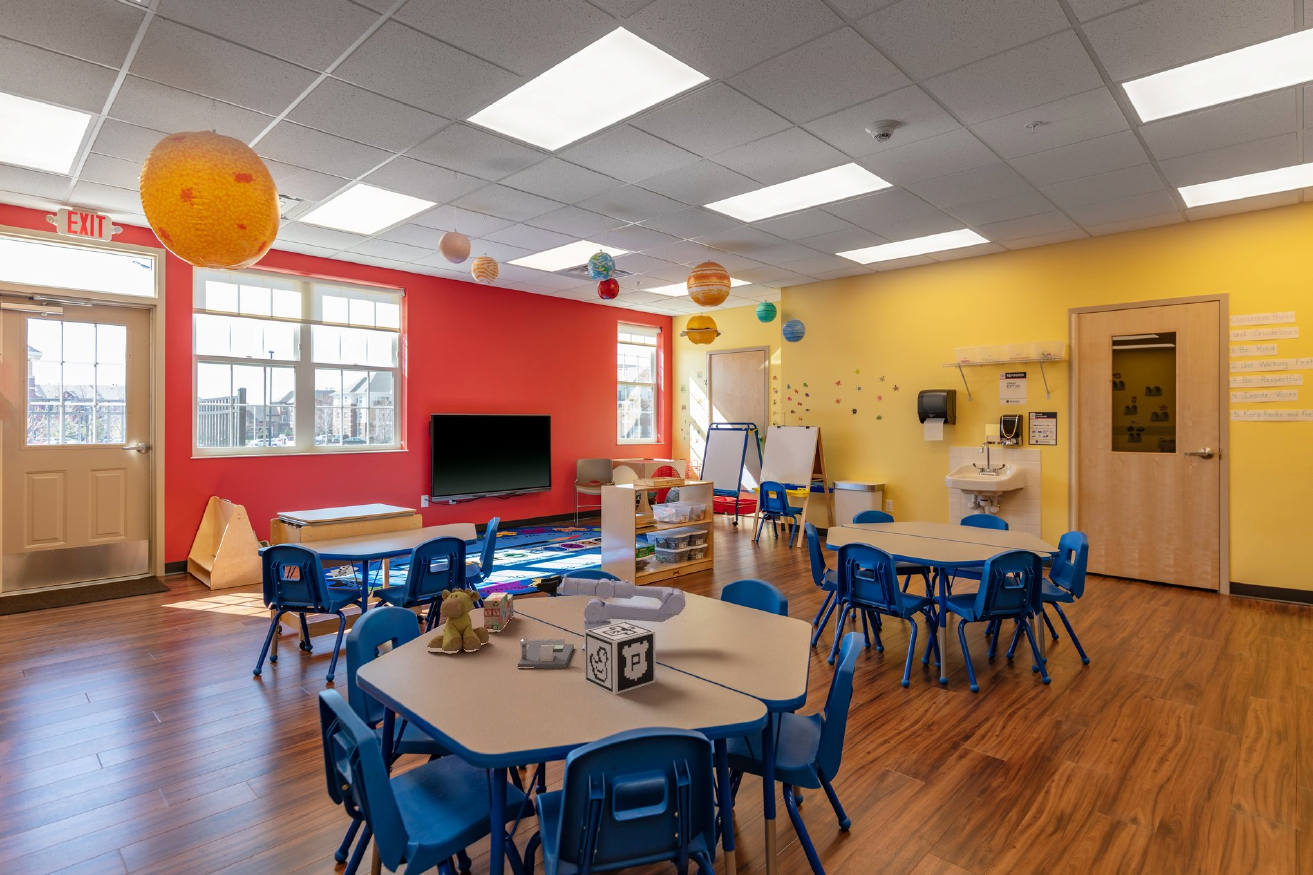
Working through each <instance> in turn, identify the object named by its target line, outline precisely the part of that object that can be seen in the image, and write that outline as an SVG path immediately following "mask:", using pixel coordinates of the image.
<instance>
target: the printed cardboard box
mask: <svg viewBox="0 0 1313 875" xmlns="http://www.w3.org/2000/svg"><path fill="white" fill-rule="evenodd" d="M512 616H514V594H509V593H508V592H491V593H490V594H489V595H488V596H487V597H486V598H485V599H484V600H483V621H484V622H483V627H484V628H485V629H493V630H501V629H502V628H503V627H504V625H506V623H507V622H508V620H510V619H511V618H512ZM512 619H513V618H512ZM512 619H511V620H512ZM506 626H507V625H506Z"/></svg>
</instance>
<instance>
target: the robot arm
mask: <svg viewBox="0 0 1313 875" xmlns="http://www.w3.org/2000/svg"><path fill="white" fill-rule="evenodd" d="M562 575H563V574H558V575H556V576H552V577H545V578H541V579H540V582H539V583H537V584H536V590H537V591H539V592H543V593H546V594H548V595H551V596H552V597H554V598H556V597H557V594H561V596H565V595H566V596H582V597H583V596H584V597H595V598H591V599H590V600H589V601H588V602H587V604H586V607H585V609H584V610H583V616H584V619H583V629H584V631H583V636H584V637H583V645H582V647H581V650H585V630H588V629H593V628H597V627H601V626H606V625H610V624H612V621H611V620H624V621H626V620H627V621H636V622H637V621H638V622H640V621H641V622H654V623H655V622H656V623H664V622H665V621H667V620H669V619H671V618H673V617H675V616H679V615H680V614H681V613H682V611H683V610H684V609H685V608H686V603H687V602H686V599H685V593H684V591H683V590H681V589H680V588H678V587H677V588H676V587H675V588H673V587H669V586H646V585H645V586H642V585H641V586H639V585H635V584H634V583H633V582H632V581H629V579H625V580H624V581H619V580H615V579H614V578H613V579H610V580H609V579H608V578H605V577H604V578H600V579H592V578H579V577H577V578H576V577H567V575H568V574H566V573H564V575H563V576H562ZM562 577H563V578H562ZM634 597H642V598H643V597H644V598H651V599H652V598H653V599H657V600H659V601H660V602H661V603H660V604H659V605H658V606H652V605H651V606H649V605H635V604H634V605H633V604H619V603H618V604H617V603H611V602H610V601H604V600H607V599H609V598H615V599H627V600H631V599H632V598H634ZM602 599H603V600H602Z"/></svg>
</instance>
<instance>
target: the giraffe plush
mask: <svg viewBox="0 0 1313 875" xmlns="http://www.w3.org/2000/svg"><path fill="white" fill-rule="evenodd" d="M441 597H442V599H443V600H444V601H442V603H441V605H440V613H441V616H443V617H447V618H446V621H445V626H444V628H442V630H443V633H442V634H438V635H435V636H434V637H433V638H432V639H431V640H429V642H428V643H427V645H426V648H427V647H430V648H442V650H444V651H457V650H460V649H461V650H463V649H465V650H474V649H479V650H481V648H482V646H481V643H486V642H488V641H489V640H490V636H489V633H488V630H487V629H485V628H484V626H479V627H476V628H473V624H472V618H471V616H470V614H469V613H470V612H471V610H472V608H473V606H474V602H477V601H479V600H480V599H481V594H480V593H479V592H478V591H477V590H472V591H471V588H468V587H466V588H465V589H462V588H456V587H455V588H453V589H452V591H449V590H448V589H444V590H443V591H441ZM461 650H460V651H461Z"/></svg>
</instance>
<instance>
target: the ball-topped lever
mask: <svg viewBox="0 0 1313 875" xmlns="http://www.w3.org/2000/svg"><path fill="white" fill-rule="evenodd" d="M565 642H566V640H565V638H521V639H520V640H519V645H520V647H521V646H526V645H527V646H530V645H564V644H566V643H565Z"/></svg>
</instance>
